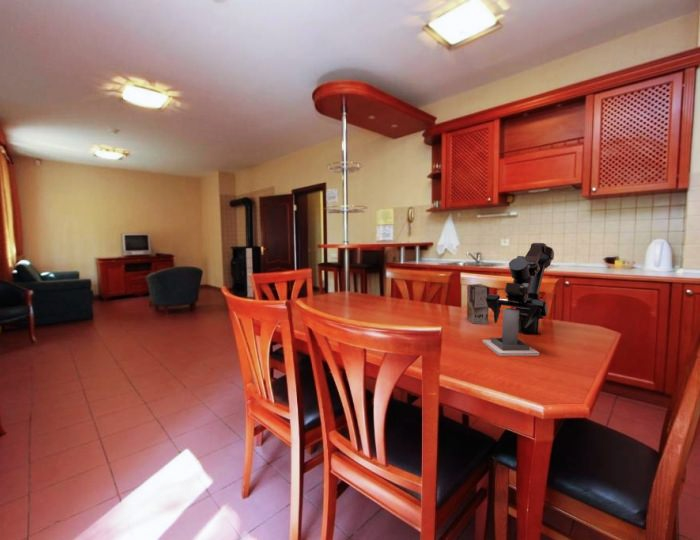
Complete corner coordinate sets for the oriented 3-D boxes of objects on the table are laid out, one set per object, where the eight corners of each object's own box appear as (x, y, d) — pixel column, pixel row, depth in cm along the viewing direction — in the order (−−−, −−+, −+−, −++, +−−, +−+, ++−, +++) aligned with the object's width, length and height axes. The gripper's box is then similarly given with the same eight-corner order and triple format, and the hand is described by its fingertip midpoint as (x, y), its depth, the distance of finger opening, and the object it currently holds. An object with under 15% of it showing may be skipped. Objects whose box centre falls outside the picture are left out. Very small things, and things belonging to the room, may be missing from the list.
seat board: (518, 342, 119) (518, 335, 119) (539, 355, 106) (539, 348, 106) (482, 342, 119) (482, 335, 118) (499, 355, 106) (499, 348, 106)
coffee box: (488, 324, 143) (490, 287, 141) (473, 323, 143) (475, 287, 141) (480, 318, 152) (482, 283, 150) (466, 318, 152) (467, 283, 150)
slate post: (507, 342, 116) (509, 307, 114) (520, 346, 111) (522, 310, 110) (498, 344, 113) (500, 309, 112) (511, 349, 109) (513, 312, 108)
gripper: (488, 271, 119) (476, 307, 112) (548, 276, 106) (538, 316, 99) (494, 290, 125) (483, 324, 118) (551, 296, 113) (542, 335, 106)
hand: (509, 325), depth 110 cm, fingers open, 9 cm apart
